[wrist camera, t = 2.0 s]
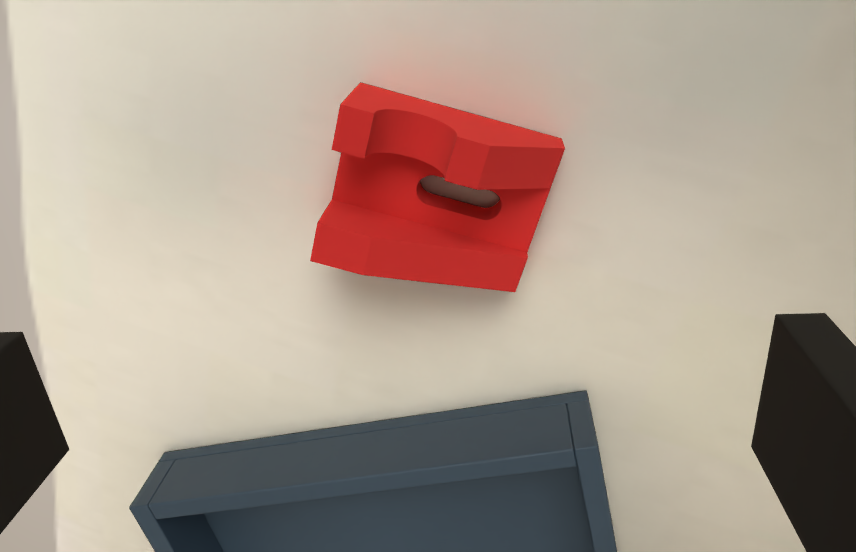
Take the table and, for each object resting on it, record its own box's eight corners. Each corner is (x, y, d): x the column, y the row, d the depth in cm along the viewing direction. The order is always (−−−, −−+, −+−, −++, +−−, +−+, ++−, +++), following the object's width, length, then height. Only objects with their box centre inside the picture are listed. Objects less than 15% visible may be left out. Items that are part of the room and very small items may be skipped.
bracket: (331, 222, 23) (310, 260, 20) (360, 82, 20) (340, 104, 18) (514, 272, 23) (516, 316, 20) (561, 138, 21) (571, 168, 18)
